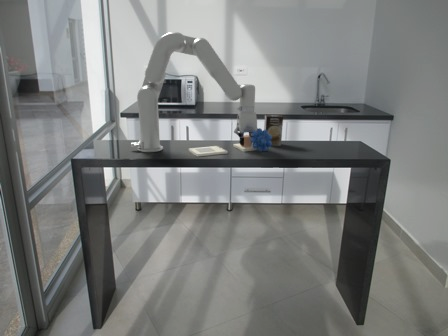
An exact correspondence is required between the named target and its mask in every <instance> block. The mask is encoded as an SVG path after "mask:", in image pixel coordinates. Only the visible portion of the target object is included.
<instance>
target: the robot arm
mask: <svg viewBox="0 0 448 336" xmlns="http://www.w3.org/2000/svg"><path fill="white" fill-rule="evenodd" d="M174 52H176V53H180V54H184V55H189V56H196V57H197V59H198V61H199V62H200V63H201V64H202V66H203V67H204V69H205V70H206V71H207V73H208V74H209V76H210V77H211V78H212V79H214V80H215V82H216V83H217V84H218V86H219V87H220V89H221V90H222V91H223V92H224V95H225V97H226V98H227V99H228V100H230V101H233V102H235V101H238V100H239V106H238V107H237V111H238V113H237V117H236V124H235V125H236V127H235V129H234V131H233V133H234V134H236V135H237V136H238V137H239V144H240V145H242V146H244V138H243V136H245V135H244V134H245V133H248V136H250V137H253V136H252V132H253V131H256V132H257V129H259V128H258V118H257V117H258V116H257V112H256V111H255V109H256V107H255V106H256V104H255V103H256V85H253V84H247V83H246V84H238V82H237V80H236V79H235V78H234V76H232V74H231V73H230V71H229V70H228V68H227V65H225V63H224V62H223V61H222V59H221V58H220V56H219V55H218V54H217V52H216V51H215V50H214V48H213V47H212V45H211V43H210V42H209V41H208V40H207V39H205V38H203V37H192V36H189V35H184V34H182V33H181V32H177V31H173V32H167V33H166V34H164V35H162V36H160V37H159V38H158V40H157V41H156V42H155V44H154V47H153V50H152V52H151V55H150V58H149V60H148V64H147V67H146V69H145V71H144V72H145V73H144V79H143V82H142V85H141V88H140V89H139V90H138V92H137V95H136V97H137V99H136V100H137V108H138V120H139V121H138V122H139V140H138V141H137V142H130V147H132V148H133V147H134V148H137V151H138V152H142V153H154V152H155V153H156V152H160V151H163V150H164V146H163V145H161V144H160V142H161V141H160V139H161V138H160V118H159V97H160V94H161V91H162V88H163V85H164V82H165V80H166V79H165V78H166V70H167V67H168V64H169V61H170V58H171V56H172V54H174Z"/></svg>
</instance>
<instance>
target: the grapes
mask: <svg viewBox="0 0 448 336" xmlns="http://www.w3.org/2000/svg"><path fill="white" fill-rule="evenodd" d="M252 136H253V137H251V138H250V141H251V142H252V146H253V148H257V151H258V152H260V153H261V152H263V151H265V152H267V151H269V150H270V149H269V148H270V147H273V146H272V142H271V141H270V140H272V136H271V135H268V131H267V130H264V129H262V128H261V127H260V128H258V129H257V132H256V131H253V132H252Z"/></svg>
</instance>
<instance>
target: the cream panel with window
mask: <svg viewBox="0 0 448 336" xmlns="http://www.w3.org/2000/svg"><path fill="white" fill-rule="evenodd" d="M188 152H189V153H192V154H193V155H194V156H196V157H207V156H217V155H225V154H226V155H227V154H228V150H226V149H224V148H222V147H221V146H219V145H212V146H204V147H203V146H201V147H192V148H191V147H190V148H188Z"/></svg>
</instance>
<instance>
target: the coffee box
mask: <svg viewBox="0 0 448 336" xmlns="http://www.w3.org/2000/svg"><path fill="white" fill-rule="evenodd" d="M283 124H284V116H283V115H282V114H264V124H263V125H264V126H263V130H267V131H268V135H271V136H272V140H270V141H271V142H272V146H271V147H281V146H282V140H283V139H282V137H283V126H284V125H283Z"/></svg>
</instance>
